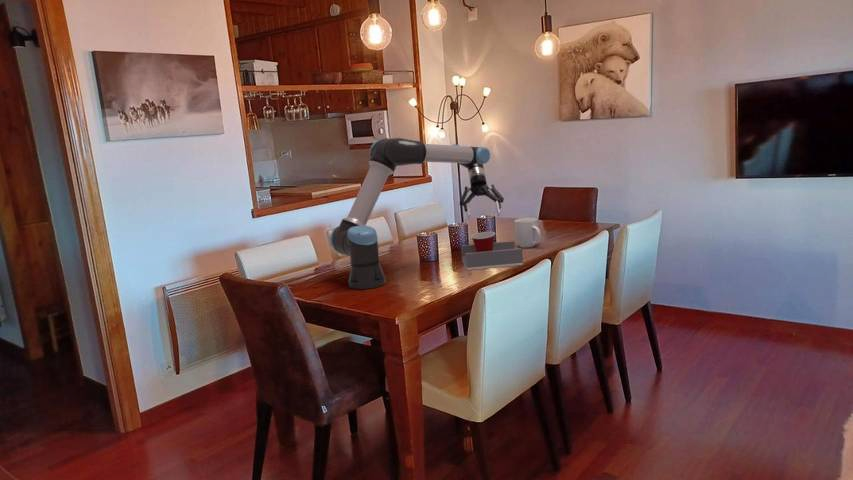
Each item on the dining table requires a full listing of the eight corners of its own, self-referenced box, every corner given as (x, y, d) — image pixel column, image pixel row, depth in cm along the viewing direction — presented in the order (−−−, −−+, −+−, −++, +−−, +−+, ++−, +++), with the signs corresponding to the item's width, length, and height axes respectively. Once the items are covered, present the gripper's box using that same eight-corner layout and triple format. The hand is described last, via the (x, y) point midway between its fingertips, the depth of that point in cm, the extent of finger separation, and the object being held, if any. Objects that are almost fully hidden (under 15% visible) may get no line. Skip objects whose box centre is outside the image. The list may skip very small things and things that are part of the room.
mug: (549, 246, 280) (548, 219, 277) (532, 251, 274) (530, 223, 271) (527, 243, 292) (526, 217, 290) (510, 247, 286) (509, 220, 284)
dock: (467, 270, 249) (465, 254, 248) (462, 260, 267) (461, 245, 266) (523, 264, 250) (522, 248, 249) (514, 255, 268) (513, 240, 266)
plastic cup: (468, 259, 263) (466, 233, 260) (490, 256, 266) (488, 230, 263) (478, 264, 253) (476, 237, 250) (501, 261, 256) (499, 234, 253)
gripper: (503, 182, 280) (510, 217, 268) (451, 186, 279) (456, 222, 268) (504, 171, 274) (512, 208, 262) (451, 176, 273) (456, 212, 261)
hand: (484, 215), depth 265 cm, fingers open, 13 cm apart
